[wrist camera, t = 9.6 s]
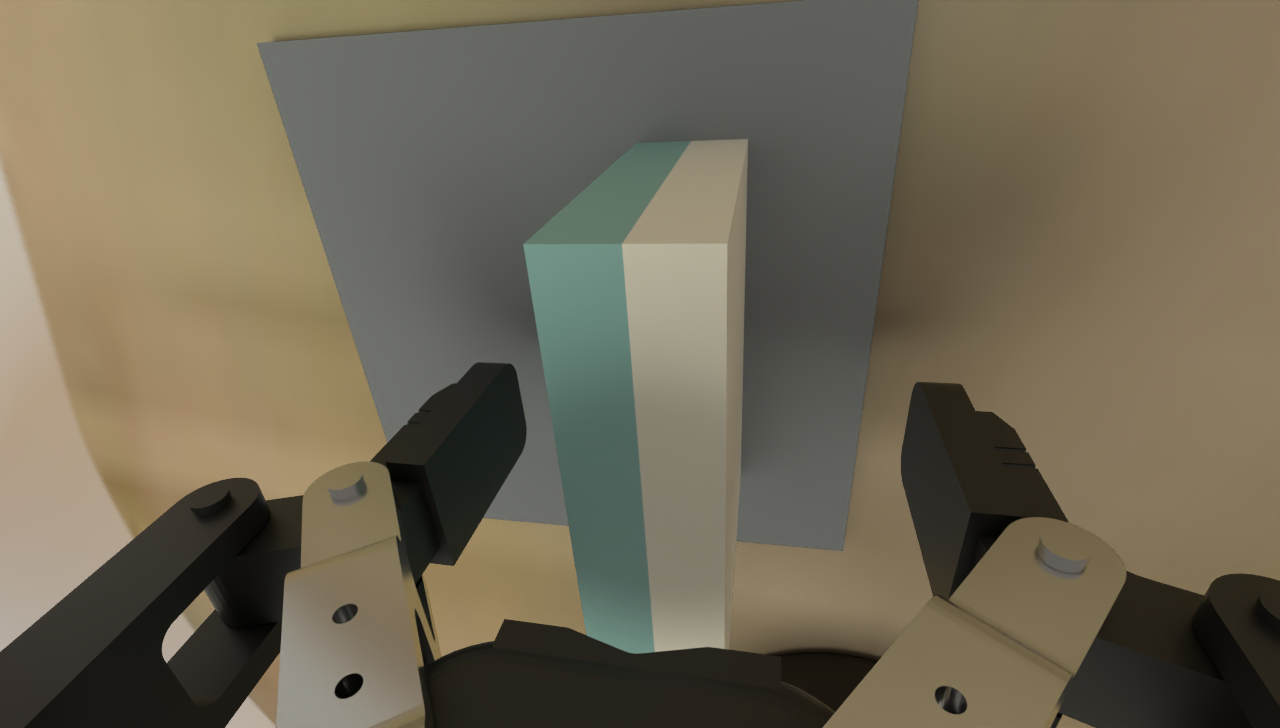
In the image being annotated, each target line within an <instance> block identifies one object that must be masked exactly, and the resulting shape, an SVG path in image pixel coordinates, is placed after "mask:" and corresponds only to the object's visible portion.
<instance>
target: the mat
mask: <svg viewBox="0 0 1280 728" xmlns="http://www.w3.org/2000/svg"><path fill="white" fill-rule="evenodd" d="M917 8H918V0H800V1H788V2H775V3H762V4H749V5H737V6H724V7H711V8H699V9H686V10H673V11H660V12H648V13H635V14H622V15H610V16H597V17H584V18H571V19H559V20H546V21H533V22H521V23H508V24H495V25H482V26H470V27H457V28H444V29H432V30H419V31H406V32H393V33H381V34H368V35H355V36H342V37H330V38H317V39H304V40H292V41H279V42H266V43H257V46H258V49H259V52H260V55H261V58H262V61H263V64H264V67H265V70H266V73H267V76H268V79H269V82H270V85H271V88H272V91H273V94H274V98H275V101H276V104H277V107H278V110H279V113H280V116H281V119H282V122H283V125H284V128H285V131H286V134H287V137H288V140H289V143H290V146H291V149H292V152H293V155H294V159H295V162H296V165H297V168H298V171H299V174H300V177H301V180H302V183H303V186H304V189H305V192H306V195H307V198H308V201H309V204H310V207H311V210H312V213H313V217H314V220H315V223H316V226H317V229H318V232H319V235H320V238H321V241H322V244H323V247H324V250H325V253H326V256H327V259H328V262H329V265H330V268H331V271H332V274H333V278H334V281H335V284H336V287H337V290H338V293H339V296H340V299H341V302H342V305H343V308H344V311H345V314H346V317H347V320H348V323H349V326H350V329H351V332H352V336H353V339H354V342H355V345H356V348H357V351H358V354H359V357H360V360H361V363H362V366H363V369H364V372H365V375H366V378H367V381H368V384H369V387H370V390H371V393H372V397H373V400H374V403H375V406H376V409H377V412H378V415H379V418H380V421H381V424H382V427H383V430H384V433H385V436H386V439H387V442H389V441H390V440H391V439H392V437H393V436H394V435H395V434H396V433H397V432H398V431H399V430H400V429H401V428H402V427H403V426H404V425H407V423H408V420H409V419H410V418H411V417H412V416H413V415H414V414H415V413H418V412H419V409H420V408H421V407H422V406H423V404H424V403H425V402H426V401H427V400H428V399H429V398H430V397H431V396H432V395H434V394H435V393H437V392H439V391H440V390H442V389H444V388H446V387H447V386H449V385H451V384H452V383H457V382H458V381H459V380H460V379H461V378H462V377H463V376H464V375H465V374H466V372H467V371H468V370H469V369H470V368H471V367H472V366H473V365H474V364H475V363H477V362H486V363H509V364H512V365H513V366H514V368H515V370H516V372H517V377H518V382H519V388H520V393H521V398H522V404H523V409H524V415H525V420H526V427H527V435H526V442H525V446H524V449H523V452H522V454H521V455H520V457H519V459H518V460H517V462H516V464H515V465H514V467H513V469H512V470H511V472H510V474H509V475H508V477H507V479H506V480H505V482H504V484H503V485H502V487H501V489H500V490H499V492H498V494H497V495H496V497H495V498H494V500H493V502H492V503H491V505H490V507H489V508H488V510H487V512H486V513H485V515H484V517H483V518H489V519H500V520H511V521H521V522H532V523H543V524H554V525H565V526H569V524H568V518H567V512H566V505H565V499H564V493H563V487H562V481H561V474H560V468H559V462H558V456H557V450H556V444H555V437H554V431H553V425H552V419H551V413H550V407H549V400H548V394H547V388H546V382H545V376H544V370H543V363H542V357H541V351H540V345H539V339H538V332H537V326H536V320H535V314H534V308H533V302H532V295H531V289H530V283H529V277H528V271H527V265H526V258H525V252H524V246H523V244H524V243H525V242H526V241H527V240H528V239H530V238H531V237H532V236H533V235H534V234H535V233H536V232H537V231H539V230H540V229H541V228H542V227H543V226H544V225H545V224H546V223H547V222H549V221H550V220H551V219H552V218H553V217H554V216H555V215H556V214H558V213H559V212H560V211H561V210H562V209H563V208H564V207H565V206H566V205H568V204H569V203H570V202H571V201H572V200H573V199H574V198H575V197H576V196H578V195H579V194H580V193H581V192H582V191H583V190H584V189H585V188H587V187H588V186H589V185H590V184H591V183H592V182H593V181H594V180H595V179H597V178H598V177H599V176H600V175H601V174H602V173H603V172H604V171H606V170H607V169H608V168H609V167H610V166H611V165H612V164H613V163H614V162H616V161H617V160H618V159H619V158H620V157H621V156H622V155H623V154H625V153H626V152H627V151H628V150H629V149H630V148H631V147H632V146H633V145H635V144H636V143H648V142H676V141H704V140H731V139H748V168H747V213H746V259H745V304H744V349H743V395H742V440H741V478H740V493H739V508H738V523H737V538H736V541H740V542H751V543H762V544H773V545H783V546H794V547H805V548H816V549H827V550H838V551H843V547H844V540H845V533H846V525H847V518H848V511H849V503H850V496H851V489H852V482H853V474H854V467H855V460H856V452H857V445H858V438H859V430H860V423H861V416H862V409H863V401H864V394H865V387H866V379H867V372H868V365H869V358H870V350H871V343H872V336H873V328H874V321H875V314H876V307H877V299H878V292H879V285H880V277H881V270H882V263H883V256H884V248H885V241H886V234H887V226H888V219H889V212H890V204H891V197H892V190H893V183H894V175H895V168H896V161H897V153H898V146H899V139H900V132H901V124H902V117H903V110H904V102H905V95H906V88H907V81H908V73H909V66H910V59H911V51H912V44H913V37H914V30H915V22H916V15H917Z"/></svg>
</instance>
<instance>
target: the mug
mask: <svg viewBox="0 0 1280 728" xmlns="http://www.w3.org/2000/svg"><path fill="white" fill-rule="evenodd" d="M780 657H781V681H783V682H785V683H788V684H790V685H793V686H795V687H797V688H799V689H801V690H803V691H804V692H806V693H808V694H810V695H812V696H814V697H815V698H816V699H818V700H819V701H821V702H822V703H824V704H825V705H827V706H828V707H830V708H831V709H832V710H833V711H834V712H836V711H837V710H838V709H839V707H840V706H841V705H842V704H843V703H844V701H845V700H846V699H847V698H848V697H849V695H850V694H851V693H852V692H853V691H854V689H855V688H856V687H857V686H858V685H859V683H860V682H861V681H862V680H863V679H864V677H865V676H866V675H867V674H868V673H869V671H870V670H871V669H872V668H873V667H874V666H875V664H876V663H877V662H875V661H871V660H867V659H863V658H858V657H853V656H845V655H838V654H821V653H808V654H792V655H786V656H780Z"/></svg>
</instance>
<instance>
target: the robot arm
mask: <svg viewBox="0 0 1280 728" xmlns="http://www.w3.org/2000/svg"><path fill="white" fill-rule="evenodd" d="M526 435H527V427H526V420H525V415H524V409H523V404H522V398H521V393H520V388H519V382H518V377H517V372H516V370H515V368H514V366H513V365H512V364H509V363H486V362H477V363H475V364H474V365H473V366H472V367H471V368H470V369H469V370H468V371H467V372H466V374H465V375H464V376H463V377H462V378H461V379H460V380H459V381H458V382H457V383H452V384H451V385H449V386H447V387H446V388H444V389H442V390H440V391H439V392H437V393H435V394H434V395H432V396H431V397H430V398H429V399H428V400H427V401H426V402H425V403H424V404H423V406H422V407H421V408H420V409H419V412H418V413H415V414H414V415H413V416H412V417H411V418H410V419H409V420H408V423H407V425H404V426H403V427H402V428H401V429H400V430H399V431H398V432H397V433H396V434H395V435H394V436H393V437H392V439H391V440H390V441H389V442H388V443H387V444H386V445H385V446H384V447H383V448H382V449H381V450H380V451H379V452H378V453H377V454H376V456H375V457H374V458H373V459H372V460H371V461H370V462H356V463H351V464H347V465H343V466H341V467H338V468H335V469H333V470H331V471H329V472H327V473H325V474H324V475H322V476H321V477H319V478H318V479H317V480H315V481H314V482H313V483H312V484H311V485H310V486H309V487H308V489H307V490H306V491H305V494H304V495H302V496H295V497H288V498H281V499H274V500H267V501H265V499H264V496H263V494H262V492H261V490H260V488H259V486H258V484H257V483H256V482H255V481H253V480H251V479H247V478H231V479H226V480H221V481H218V482H214V483H211V484H209V485H206V486H204V487H201V488H199V489H197V490H195V491H193V492H192V493H190V494H188V495H187V496H185V497H184V498H182V499H181V500H180V501H178V502H177V503H176V504H175V505H173V506H172V507H171V508H170V509H169V510H167V511H166V512H165V513H164V514H163V515H162V516H160V517H159V518H158V519H157V520H156V521H154V522H153V523H152V524H151V525H150V526H149V527H147V528H146V529H145V530H144V531H143V532H141V533H140V534H139V535H138V536H137V537H136V538H134V539H133V540H132V541H131V542H130V543H129V544H127V545H126V546H125V547H124V548H123V549H121V550H120V551H119V552H118V553H117V554H116V555H114V556H113V557H112V558H111V559H110V560H108V561H107V562H106V563H105V564H104V565H103V566H101V567H100V568H99V569H98V570H97V571H95V572H94V573H93V574H92V575H91V576H90V577H88V578H87V579H86V580H85V581H84V582H83V583H81V584H80V585H79V586H78V587H77V588H75V589H74V590H73V591H72V592H71V593H69V595H67V596H66V597H65V598H64V599H63V600H61V601H60V602H59V603H58V604H57V605H55V606H54V607H53V608H52V609H51V610H50V611H48V612H47V613H46V614H45V615H43V616H42V617H41V618H40V619H39V620H38V621H36V622H35V623H34V624H33V625H32V626H31V627H29V628H28V629H27V630H26V631H25V632H23V633H22V634H21V635H20V636H19V637H17V638H16V639H15V640H14V641H13V642H12V643H10V644H9V645H8V646H7V647H6V648H5V649H3V650H2V651H1V652H0V728H225V727H226V725H227V724H228V722H229V721H230V720H231V718H232V717H233V716H234V714H235V713H236V711H237V710H238V709H239V707H240V706H241V705H242V703H243V702H244V700H245V699H246V698H247V696H248V695H249V694H250V692H251V691H252V690H253V688H254V687H255V686H256V684H257V683H258V681H259V680H260V679H261V677H262V676H263V675H264V673H265V672H266V671H267V669H268V668H269V666H270V665H271V664H272V662H273V661H274V660H275V658H276V657H277V655H278V654H279V653H280V667H279V684H278V701H277V718H276V728H1058V726H1059V724H1060V722H1061V720H1062V718H1063V716H1064V715H1066V716H1068V717H1071V718H1073V719H1076V720H1078V721H1081V722H1083V723H1086V724H1088V725H1090V726H1093V727H1095V728H1280V581H1278V580H1275V579H1271V578H1267V577H1263V576H1258V575H1252V574H1229V575H1224V576H1221V577H1219V578H1217V579H1215V580H1214V581H1213V582H1212V583H1211V585H1210V587H1209V589H1208V590H1207V592H1206V594H1205V596H1203V595H1200V594H1197V593H1193V592H1190V591H1187V590H1183V589H1180V588H1177V587H1173V586H1170V585H1166V584H1163V583H1160V582H1156V581H1153V580H1150V579H1147V578H1144V577H1141V576H1138V575H1135V574H1133V573H1130V572H1128V571H1126V568H1125V565H1124V563H1123V561H1122V560H1121V558H1120V556H1119V555H1118V554H1117V553H1116V552H1115V550H1114V549H1113V548H1111V547H1110V546H1109V545H1108V544H1107V543H1106V542H1104V541H1103V540H1102V539H1100V538H1099V537H1097V536H1096V535H1094V534H1092V533H1091V532H1089V531H1087V530H1085V529H1083V528H1081V527H1078V526H1076V525H1073V524H1071V523H1069V522H1068V520H1067V518H1066V517H1065V515H1064V513H1063V512H1062V510H1061V508H1060V506H1059V505H1058V503H1057V501H1056V500H1055V498H1054V496H1053V494H1052V493H1051V491H1050V489H1049V488H1048V486H1047V484H1046V482H1045V481H1044V479H1043V477H1042V476H1041V474H1040V472H1039V470H1038V469H1035V464H1034V462H1033V460H1032V458H1031V457H1030V455H1029V453H1027V452H1026V448H1025V446H1024V445H1023V443H1022V441H1021V439H1020V438H1019V436H1018V434H1017V433H1016V431H1015V429H1014V428H1012V427H1011V426H1010V425H1008V424H1007V423H1006V422H1004V421H1003V420H1002V419H1001V418H999V417H998V416H997V415H995V414H994V413H993V412H982V411H975V409H974V407H973V405H972V403H971V401H970V399H969V397H968V395H967V394H966V392H965V390H964V388H963V386H962V385H961V384H952V383H929V382H917V383H916V384H915V385H914V388H913V391H912V396H911V402H910V407H909V413H908V418H907V424H906V430H905V435H904V441H903V446H902V454H901V475H902V482H903V486H904V489H905V493H906V497H907V500H908V504H909V508H910V512H911V515H912V519H913V523H914V526H915V530H916V534H917V538H918V541H919V545H920V549H921V552H922V556H923V560H924V564H925V567H926V571H927V575H928V578H929V582H930V586H931V590H932V593H933V597H932V598H931V599H930V600H929V601H928V602H927V603H926V605H925V606H924V607H923V608H922V609H921V611H920V612H919V613H918V614H917V615H916V617H915V618H914V619H913V620H912V621H911V622H910V624H909V625H908V626H907V627H906V628H905V630H904V631H903V632H902V633H901V634H900V636H899V637H898V638H897V639H896V640H895V642H894V643H893V644H892V645H891V646H890V648H889V649H888V650H887V651H886V652H885V654H884V655H883V656H882V657H881V658H880V660H879V661H878V662H877V663H876V664H875V666H874V667H873V668H872V669H871V670H870V671H869V673H868V674H867V675H866V676H865V677H864V679H863V680H862V681H861V682H860V683H859V685H858V686H857V687H856V688H855V689H854V691H853V692H852V693H851V694H850V695H849V697H848V698H847V699H846V700H845V701H844V703H843V704H842V705H841V706H840V707H839V709H838V710H837V711H836V712H834V711H833V710H832V709H831V708H830V707H828V706H827V705H825V704H824V703H822V702H821V701H819V700H818V699H816V698H815V697H814V696H812V695H810V694H808V693H806V692H804V691H803V690H801V689H799V688H797V687H795V686H793V685H790V684H788V683H785V682H783V681H781V657H779V656H772V655H764V654H757V653H750V652H742V651H735V650H728V649H720V648H713V647H701V648H691V649H681V650H671V651H660V652H650V653H638V654H635V653H629V652H626V651H623V650H621V649H618V648H616V647H613V646H611V645H608V644H606V643H604V642H601V641H599V640H596V639H594V638H591V637H589V636H587V635H584V634H582V633H579V632H577V631H574V630H572V629H570V628H566V627H559V626H551V625H544V624H536V623H529V622H522V621H514V620H507V619H504V622H503V624H502V626H501V628H500V630H499V632H498V634H497V637H496V639H495V641H492V642H486V643H481V644H477V645H472V646H469V647H466V648H463V649H460V650H457V651H454V652H452V653H450V654H448V655H445V656H443V657H442V656H441V652H440V647H439V642H438V638H437V633H436V628H435V624H434V619H433V614H432V609H431V605H430V600H429V595H428V590H427V586H426V582H425V579H424V576H423V572H424V571H425V569H426V568H427V566H428V565H429V563H434V564H442V565H451V566H454V565H455V563H456V561H457V560H458V558H459V557H460V555H461V553H462V552H463V550H464V548H465V547H466V545H467V543H468V542H469V540H470V538H471V537H472V535H473V533H474V532H475V530H476V528H477V527H478V525H479V523H480V522H481V520H482V518H483V517H484V515H485V513H486V512H487V510H488V508H489V507H490V505H491V503H492V502H493V500H494V498H495V497H496V495H497V494H498V492H499V490H500V489H501V487H502V485H503V484H504V482H505V480H506V479H507V477H508V475H509V474H510V472H511V470H512V469H513V467H514V465H515V464H516V462H517V460H518V459H519V457H520V455H521V454H522V452H523V449H524V446H525V442H526ZM203 590H204V591H205V592H206V594H207V596H208V597H209V599H210V601H211V602H212V604H213V606H214V608H215V610H214V611H213V612H212V614H211V615H210V616H209V617H208V618H207V619H206V620H205V621H204V622H203V624H202V625H201V626H200V627H199V628H198V629H197V630H196V631H195V632H194V634H193V635H192V636H191V637H190V638H189V639H188V640H187V641H186V642H185V644H184V645H183V646H182V647H181V648H180V649H179V650H178V651H177V653H176V654H175V655H174V656H173V657H172V658H171V659H170V661H168V663H166V662H165V660H164V658H163V656H162V642H163V639H164V636H165V634H166V632H167V630H168V628H169V627H170V625H171V624H172V623H173V622H174V621H175V619H176V618H177V617H178V616H179V615H180V614H181V613H182V612H183V611H184V610H185V609H186V608H187V607H188V606H189V605H190V604H191V603H192V602H193V601H194V600H195V598H196V597H197V596H198V595H199V594H200V593H201V592H202V591H203Z"/></svg>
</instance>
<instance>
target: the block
mask: <svg viewBox="0 0 1280 728" xmlns="http://www.w3.org/2000/svg"><path fill="white" fill-rule="evenodd" d="M747 168H748V139H731V140H704V141H676V142H648V143H636V144H635V145H633V146H632V147H631V148H630V149H629V150H628V151H627V152H626V153H625V154H623V155H622V156H621V157H620V158H619V159H618V160H617V161H616V162H614V163H613V164H612V165H611V166H610V167H609V168H608V169H607V170H606V171H604V172H603V173H602V174H601V175H600V176H599V177H598V178H597V179H595V180H594V181H593V182H592V183H591V184H590V185H589V186H588V187H587V188H585V189H584V190H583V191H582V192H581V193H580V194H579V195H578V196H576V197H575V198H574V199H573V200H572V201H571V202H570V203H569V204H568V205H566V206H565V207H564V208H563V209H562V210H561V211H560V212H559V213H558V214H556V215H555V216H554V217H553V218H552V219H551V220H550V221H549V222H547V223H546V224H545V225H544V226H543V227H542V228H541V229H540V230H539V231H537V232H536V233H535V234H534V235H533V236H532V237H531V238H530V239H528V240H527V241H526V242H525V243H524V244H523V246H524V252H525V258H526V265H527V271H528V277H529V283H530V289H531V295H532V302H533V308H534V314H535V320H536V326H537V332H538V339H539V345H540V351H541V357H542V363H543V370H544V376H545V382H546V388H547V394H548V400H549V407H550V413H551V419H552V425H553V431H554V437H555V444H556V450H557V456H558V462H559V468H560V474H561V481H562V487H563V493H564V499H565V505H566V512H567V518H568V524H569V530H570V536H571V542H572V549H573V555H574V561H575V567H576V573H577V579H578V586H579V592H580V598H581V604H582V610H583V616H584V623H585V629H586V635H587V636H589V637H591V638H594V639H596V640H599V641H601V642H604V643H606V644H608V645H611V646H613V647H616V648H618V649H621V650H623V651H626V652H629V653H635V654H638V653H650V652H660V651H671V650H681V649H691V648H701V647H713V648H720V649H728V650H729V642H730V627H731V612H732V597H733V582H734V567H735V553H736V538H737V523H738V508H739V493H740V478H741V440H742V395H743V349H744V304H745V259H746V213H747Z"/></svg>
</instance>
